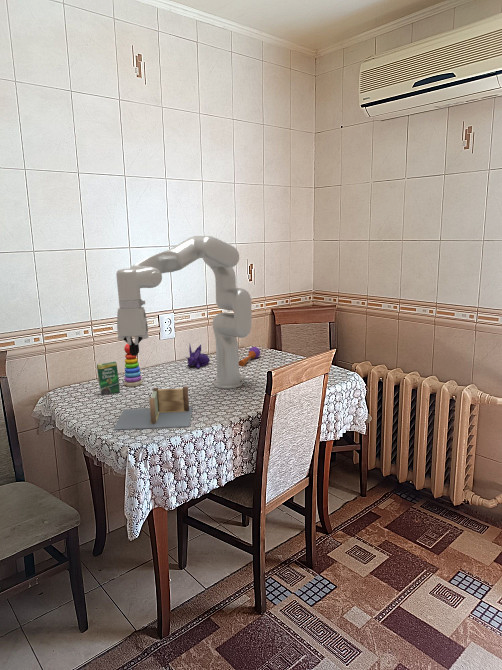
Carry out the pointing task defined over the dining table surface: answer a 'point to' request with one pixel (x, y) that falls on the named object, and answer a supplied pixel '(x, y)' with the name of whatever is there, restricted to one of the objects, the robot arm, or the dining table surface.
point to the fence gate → (153, 407)
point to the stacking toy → (131, 369)
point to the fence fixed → (172, 399)
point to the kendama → (250, 356)
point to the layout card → (142, 419)
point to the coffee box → (108, 378)
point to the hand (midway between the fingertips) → (134, 354)
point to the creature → (197, 358)
